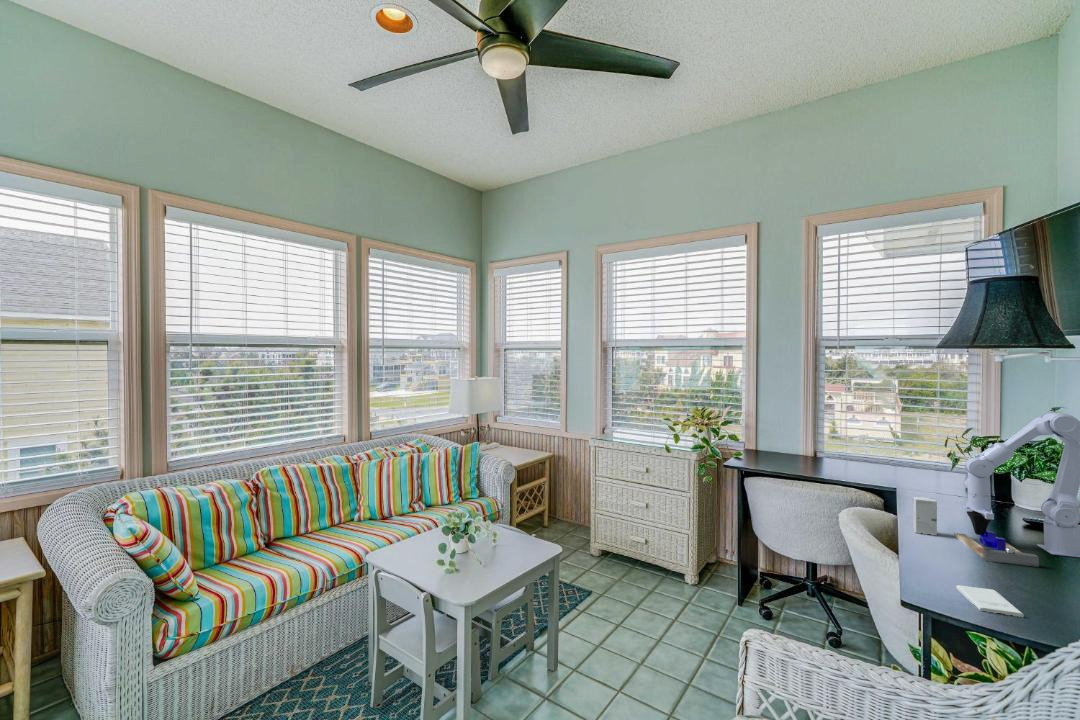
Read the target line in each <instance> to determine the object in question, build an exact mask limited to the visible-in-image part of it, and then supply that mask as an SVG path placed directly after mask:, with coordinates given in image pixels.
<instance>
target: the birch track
mask: <svg viewBox="0 0 1080 720" xmlns="http://www.w3.org/2000/svg"><path fill="white" fill-rule="evenodd" d="M953 537H955V538H956V539H957V538H958V540H959V541H960V542H961V543H962V544H964V545H965V546H966V545H967V546H966V547H968V548H969V549H971V551H973V552H974V553H976V554H977V555H978V556H979V557H981V558H982V559H983V549H986V548H985V547H983V546H982V545H981V544H979V543H978V542H977V541H975V540H974V539H972V538H971V537H969V536H968V535H967V534H965V533H962V532H961V533H959V532H954V533H953ZM1006 547H1008V548H1013V549H1015V552H1018V553H1023V552H1022V551H1020V550H1019V549H1017V548H1015V547H1014V546H1012V545H1011V544H1009V543H1008V542H1006Z"/></svg>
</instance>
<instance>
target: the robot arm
mask: <svg viewBox="0 0 1080 720" xmlns="http://www.w3.org/2000/svg"><path fill="white" fill-rule="evenodd" d="M1052 435H1055V436H1056V437H1057V438H1058V439H1059V440H1061V442H1063V443H1064V446H1063V450H1062V454H1061V458H1060V462H1059V465H1058V468H1057V473H1056V477H1055V480H1054V485H1053V488H1052V491H1051V492H1049V493H1048V494H1047V497H1046V499H1045V500H1043V502H1041V504H1040V511H1041V512H1042V514H1043V515H1044V516H1045V517H1044V518H1043V544H1041V543H1040V544H1038V543H1037V546H1038V548H1041V549H1042V550H1044V551H1045V552H1047V553H1049V554H1050V555H1054V556H1055V555H1056V556H1064V557H1065V556H1066V557H1075V558H1080V525H1078V524H1079V523H1080V512H1079V510H1080V504H1079V501H1078V493H1079V489H1080V420H1078V418H1077V417H1075V416H1073V415H1071V414H1067V413H1061V412H1057V411H1047V412H1044V413H1043V414H1041V415H1040V416H1037V417H1035V418H1034V419H1033V420H1032V421H1030V422H1029V423H1028V424H1026V425H1025V426H1023V428H1022V429H1020V430H1018V432H1016V433H1015V434H1014V435H1012V436H1011V437H1009V438H1007V440H1006V441H1004V442H995V443H994V444H993V443H989V444H988V445H987V447H988V448H987V449H985V450H984V451H982V452H980V453H977V454H975V455H974V456H975V457H971V458H969V459H967V460H966V462H965V464H964V468H965V469H966V471H967V480H966V481H967V483H966V485H967V500H966V501H965V504H963V509H967V510H970V511H966V514H967V516H968V517H969V519H970V521H971V525H972V527H973V530H974V534H975V535H977V536H980V535H985V531H987V528H988V526H989V524H990V522H992V520H993V521H994V520H995V513H993V509H992V501H991V500H992V496H991V495H992V494H991V493H992V492H991V476H992V475H993V474H994V469H997V468H998V467H999V466H1001V465H1003V464H1004V463H1006V462H1007V461H1009V460H1010V459H1011V458H1014V453H1015V452H1014V451H1016V450H1018V449H1019V448H1021V447H1022V446H1023V445H1026V444H1027V443H1029V442H1030V441H1032V440H1034V439H1035V438H1037V437H1040V436H1052Z"/></svg>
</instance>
